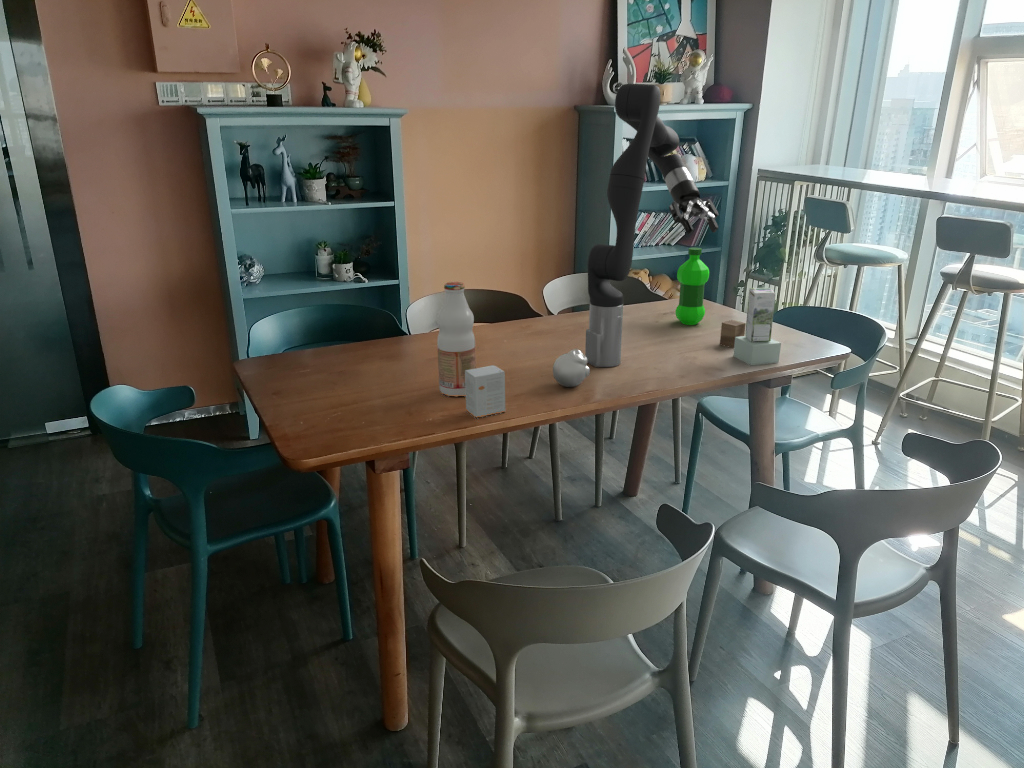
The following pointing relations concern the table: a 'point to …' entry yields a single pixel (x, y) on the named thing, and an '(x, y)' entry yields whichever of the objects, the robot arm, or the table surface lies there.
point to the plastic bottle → (692, 288)
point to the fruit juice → (455, 340)
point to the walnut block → (731, 332)
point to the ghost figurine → (571, 368)
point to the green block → (756, 351)
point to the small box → (485, 390)
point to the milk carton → (760, 314)
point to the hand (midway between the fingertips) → (703, 231)
